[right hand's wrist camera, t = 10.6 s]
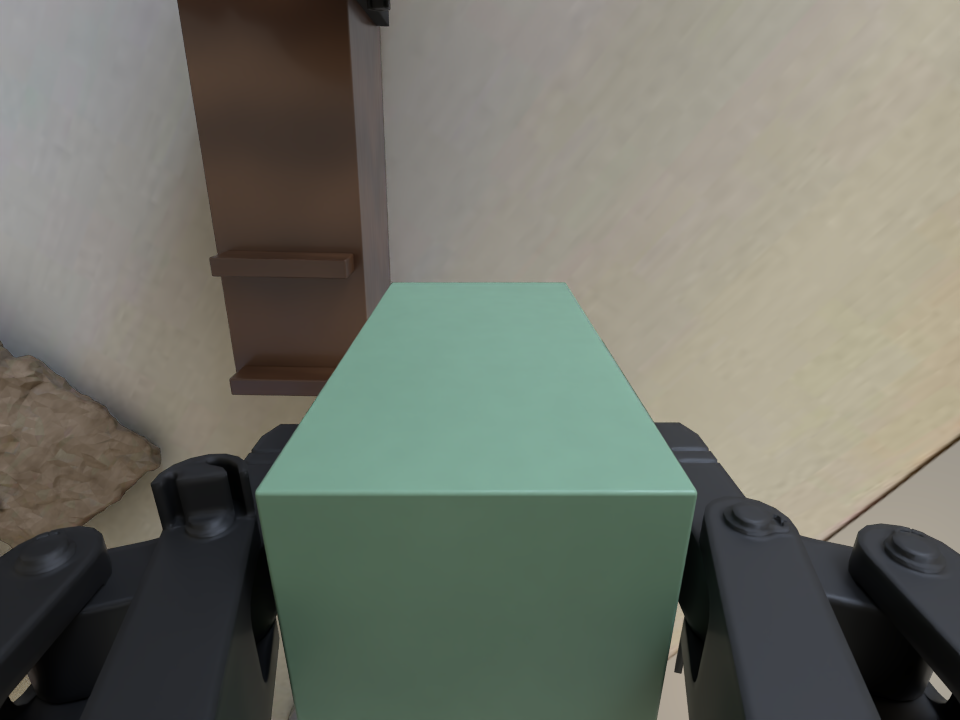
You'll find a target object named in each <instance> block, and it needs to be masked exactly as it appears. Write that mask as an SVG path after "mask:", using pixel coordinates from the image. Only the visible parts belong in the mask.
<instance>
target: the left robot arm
mask: <svg viewBox="0 0 960 720" xmlns="http://www.w3.org/2000/svg"><path fill="white" fill-rule="evenodd" d="M356 1H357V2H358V3H359V5H360V6H361V7H362V8H363V10H364V11H365V12H366V13H367V15H368V16H369V17H370V18H371V20H372V21H373V22H374V23H375V25H376V26H389V12H388V10H390V0H356Z"/></svg>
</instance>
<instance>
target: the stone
mask: <svg viewBox="0 0 960 720" xmlns="http://www.w3.org/2000/svg"><path fill="white" fill-rule="evenodd" d="M160 463H161V455H160V448H158V447H157V446H155V445H154V444H152V443H150V442H149V441H148V440H147V439H146V438H145V437H143V436H140V435H138V434H137V433H135V432H133V431H131V430H129V429H127V428H126V427H124V426H122V425H120V424H119V423H118V422H117V420H116V419H115V418H114V417H113V416H111V415H110V413H109V412H108V410H107V408H106V407H105V406H103V405H101V404H100V403H99V402H96V401H93V400H92V399H91V398H90V397H89V396H86V395H82V394H80V393H79V392H78V391H76V390H75V389H73V388H72V387H71V386H70V385H69V384H68V383H67V381H66V380H65V378H63V377H61V376H59V375H57V374H56V373H54V372H53V371H52V370H51V369H49V368H48V367H47V366H46V365H45V364H44V363H43V362H42V361H40V360H38V359H36V358H35V357H33V356H30V355H26V356H22V357H18V358H15V357H13V356H12V355H11V354H10V352H9V351H8V350H7V349H5V348H3V344H2V343H1V341H0V540H1V541H3V542H5V543H7V544H9V545H10V546H11V547H12V549H13V548H14V547H16V546H17V545H19V544H21V543H23V542H25V541H27V540H29V539H31V538H33V537H35V536H37V535H39V534H42V533H45V532H47V531H48V532H50V531H51V530H55V529H60V528H67V527H75V526H82V525H84V524H85V523H86V522H88V521H89V520H90V519H92V518H93V517H94V516H95V515H96V514H98V513H100V512H102V511H104V510H105V509H106V508H107V507H108V506H110V505H111V504H113V503H115V502H117V501H119V500H120V499H121V498H122V496H123V495H124V494H125V492H126V491H127V490H128V489H129V488H130V487H132V486H133V485H134V484H135V483H136V482H137V480H138V479H139V478H141V477H142V476H143V475H144V474H145V473H146V472H147V471H153V470H155V469H157V468H158V467H160Z"/></svg>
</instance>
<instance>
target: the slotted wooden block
mask: <svg viewBox="0 0 960 720" xmlns="http://www.w3.org/2000/svg"><path fill="white" fill-rule="evenodd" d="M177 2H178V8H179V15H180V21H181V27H182V33H183V40H184V46H185V52H186V58H187V65H188V71H189V77H190V84H191V90H192V96H193V102H194V109H195V115H196V121H197V128H198V134H199V140H200V146H201V153H202V159H203V165H204V172H205V178H206V184H207V190H208V197H209V203H210V209H211V216H212V222H213V228H214V234H215V241H216V247H217V253H218V255H215V256H213V257H210V265H211V271H212V276H221V278H222V285H223V291H224V297H225V304H226V310H227V316H228V322H229V329H230V335H231V341H232V348H233V354H234V360H235V366H236V374H235V375H233V376H232V377H231V378H230V386H231V392H232V394H233V395H284V396H318V395H319V393H320V392H321V390H322V389H323V387H324V386H325V384H326V383H327V381H328V380H329V378H330V376H331V375H332V373H333V372H334V370H335V369H336V367H337V366H338V364H339V363H340V361H341V360H342V358H343V357H344V355H345V353H346V352H347V350H348V349H349V347H350V346H351V344H352V343H353V341H354V340H355V338H356V337H357V335H358V334H359V332H360V331H361V329H362V327H363V326H364V324H365V323H366V321H367V320H368V318H369V317H370V315H371V314H372V312H373V311H374V309H375V308H376V306H377V305H378V303H379V301H380V300H381V298H382V297H383V295H384V294H385V292H386V291H387V289H388V288H389V286H390V261H389V237H388V213H387V189H386V165H385V141H384V118H383V94H382V70H381V46H380V26H376V25H375V23H374V22H373V21H372V20H371V18H370V17H369V16H368V15H367V13H366V12H365V11H364V10H363V8H362V7H361V6H360V5H359V3H358V2H357V1H356V0H177Z"/></svg>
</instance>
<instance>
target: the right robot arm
mask: <svg viewBox="0 0 960 720" xmlns="http://www.w3.org/2000/svg"><path fill="white" fill-rule="evenodd" d="M602 342H603V341H602ZM604 345H605V344H604ZM606 348H607V347H606ZM607 350H608V349H607ZM608 351H609V350H608ZM609 353H610V352H609ZM611 356H612V355H611ZM613 359H614V358H613ZM614 361H615V360H614ZM615 362H616V361H615ZM616 364H617V363H616ZM618 367H619V366H618ZM619 369H620V368H619ZM620 370H621V369H620ZM621 372H622V371H621ZM623 375H624V374H623ZM625 378H626V377H625ZM626 380H627V379H626ZM627 381H628V380H627ZM628 383H629V382H628ZM630 386H631V385H630ZM631 388H632V387H631ZM632 389H633V388H632ZM633 391H634V390H633ZM635 394H636V393H635ZM637 397H638V396H637ZM638 399H639V398H638ZM639 400H640V399H639ZM640 402H641V401H640ZM642 405H643V404H642ZM643 407H644V406H643ZM644 408H645V407H644ZM645 410H646V409H645ZM646 411H647V410H646ZM647 413H648V412H647ZM648 415H649V414H648ZM649 416H650V415H649ZM650 418H651V417H650ZM651 419H652V418H651ZM652 421H653V420H652ZM654 424H655V426H656V427H657V429H658V430H659V432H660V434H661V435H662V437H663V438H664V440H665V441H666V443H667V445H668V446H669V448H670V449H671V451H672V453H673V454H674V456H675V457H676V459H677V460H678V462H679V464H680V465H681V467H682V468H683V470H684V472H685V473H686V475H687V476H688V478H689V479H690V481H691V483H692V484H693V486H694V487H695V489H696V491H697V499H696V505H695V510H694V516H693V521H692V527H691V532H690V538H689V544H688V549H687V555H686V560H685V566H684V571H683V577H682V582H681V588H680V593H679V599H678V602H679V604H680V606H681V609H682V611H683V613H684V615H685V616H684V622H683V627H682V632H681V637H680V643H679V648H678V653H677V659H676V664H675V671H674V672H676V673H682V668H683V666H684V675H685V685H686V694H687V704H688V713H689V720H960V554H958V553H957V552H956V551H954V550H953V549H951V548H950V547H948V546H947V545H946V544H944V543H943V542H941V541H939V540H936V539H934V538H932V537H930V536H928V535H926V534H925V533H923V532H920V531H917V530H914V529H910V528H907V527H903V526H897V525H889V524H874V525H867V526H865V527H864V528H863V529H861V530H860V531H859V532H858V534H857V537H856V540H855V544H854V547H850V546H846V545H841V544H836V543H831V542H826V541H821V540H816V539H812V538H808V537H804V536H801V535H799V532H798V530H797V528H796V527H795V526H794V524H793V523H792V522H791V520H790V519H789V518H788V517H787V516H785V515H784V514H783V513H781V512H780V511H778V510H777V509H776V508H774V507H771V506H769V505H767V504H765V503H762V502H760V501H757V500H753V499H749V498H746V497H745V496H744V495H743V493H742V492H741V491H740V489H739V488H738V487H737V485H736V484H735V483H734V481H733V480H732V479H731V477H730V476H729V475H728V474H727V472H726V471H725V470H724V468H723V467H722V466H721V464H720V463H717V459H716V458H715V456H714V455H713V454H712V452H711V451H708V447H707V446H706V445H705V443H704V442H703V441H702V439H701V438H700V437H699V435H698V434H696V433H695V432H693V431H692V430H690V429H689V428H687V427H685V426H684V425H682V424H681V423H654ZM298 425H299V424H280V425H279V426H277V427H276V428H274V429H273V430H271V431H269V432H268V433H266V434H265V435H263V436H262V437H261V438H260V440H259V441H258V442H257V444H256V445H255V446H254V448H253V449H252V452H251V453H249V454H248V456H247V457H246V458H245V460H242V459H241V458H240V457H238V456H233V455H229V454H208V455H203V456H199V457H194V458H190V459H187V460H185V461H182V462H180V463H177V464H175V465H173V466H171V467H169V468H168V469H166V470H165V471H163V472H161V473H160V474H159V475H158V476H157V477H156V478H155V479H154V480H153V482H152V483H151V487H152V491H153V495H154V498H155V502H156V506H157V509H158V513H159V517H160V520H161V524H162V528H163V531H162V533H161V536H160V538H157V539H153V540H149V541H145V542H140V543H135V544H130V545H126V546H121V547H116V548H111V549H107V548H106V545H105V542H104V539H103V536H102V534H101V533H100V532H99V531H97V530H96V529H95V528H90V527H83V526H75V527H67V528H60V529H55V530H51V531H50V532H48V531H47V532H45V533H42V534H39V535H37V536H35V537H33V538H31V539H29V540H27V541H25V542H23V543H21V544H19V545H17V546H16V547H14V548H13V549H11V550H10V551H9V552H7V553H6V554H4V555H3V556H1V557H0V720H271V715H272V705H273V696H274V686H275V677H276V667H277V658H278V648H279V633H278V627H277V622H276V615H277V609H276V604H275V599H274V593H273V588H272V583H271V577H270V572H269V567H268V561H267V556H266V551H265V545H264V540H263V535H262V529H261V524H260V519H259V513H258V508H257V503H256V498H255V492H256V490H257V488H258V487H259V485H260V484H261V482H262V480H263V479H264V477H265V476H266V474H267V473H268V471H269V470H270V468H271V467H272V465H273V464H274V462H275V461H276V459H277V458H278V456H279V454H280V453H281V451H282V450H283V448H284V447H285V445H286V444H287V442H288V441H289V439H290V438H291V436H292V435H293V433H294V432H295V430H296V428H297V427H298ZM933 671H934V672H935V673H936V675H937V676H938V677H939V678H940V679H941V680H942V681H943V683H944V684H945V685H946V686H947V687H948V689H949V690H950V691H951V692H952V695H951V697H950V699H949V700H948V701H947V700H946V699H945V698H943V697H942V696H941V695H940V694H939V693H938V692H937V690H936V689H935V688H934V687H933V686H932V684H931V683H930V682H929V680H930V678H931V675H932V673H933ZM27 674H28V677H29V679H30V681H31V685H30V686H29V687H28V688H27V690H26V691H25V692H24V693H23V694H22V695H21V696H20V697H19V698H18V699H17V700H16V701H14V702H12V701H11V700H10V698H9V695H10V693H11V692H12V691H13V690H14V689H15V688H16V686H17V685H18V684H19V683H20V682H21V680H22V679H23V678H24V677H25V676H26V675H27ZM288 720H297V716H296V711H295V705H293V708H292V710H291V713H290V716H289V719H288Z"/></svg>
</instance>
